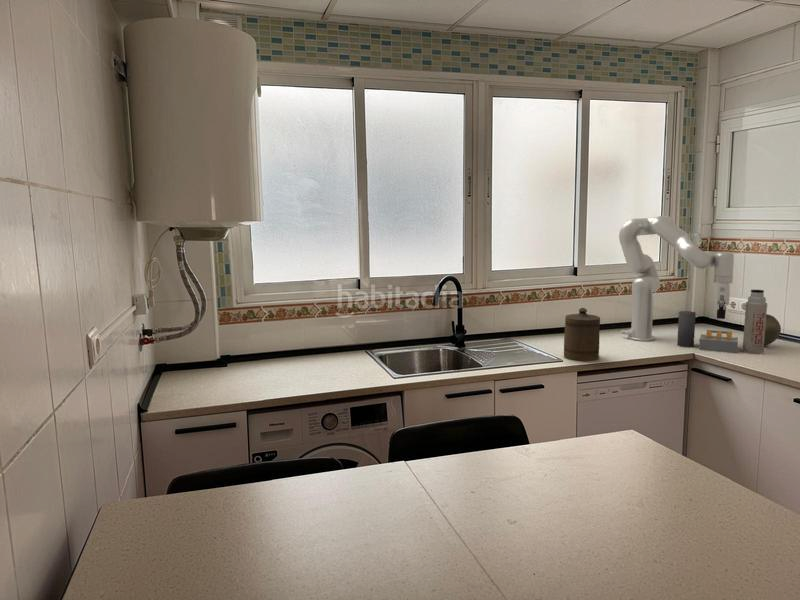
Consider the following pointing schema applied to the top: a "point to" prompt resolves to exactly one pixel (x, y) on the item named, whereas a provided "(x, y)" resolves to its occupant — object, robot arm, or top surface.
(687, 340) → the dark gray cylinder
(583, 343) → the wooden container
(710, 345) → the breaker box
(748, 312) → the thermos bottle
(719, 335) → the breaker paddles
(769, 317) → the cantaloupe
